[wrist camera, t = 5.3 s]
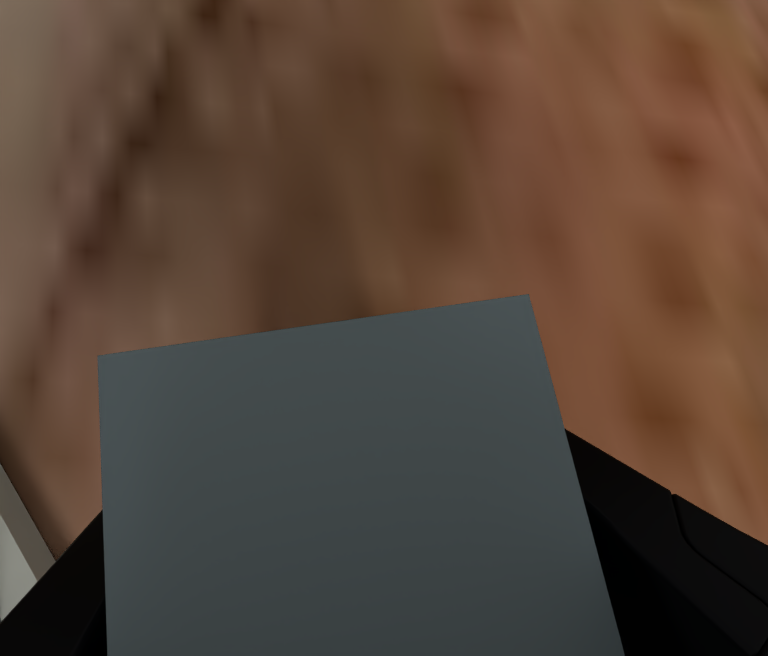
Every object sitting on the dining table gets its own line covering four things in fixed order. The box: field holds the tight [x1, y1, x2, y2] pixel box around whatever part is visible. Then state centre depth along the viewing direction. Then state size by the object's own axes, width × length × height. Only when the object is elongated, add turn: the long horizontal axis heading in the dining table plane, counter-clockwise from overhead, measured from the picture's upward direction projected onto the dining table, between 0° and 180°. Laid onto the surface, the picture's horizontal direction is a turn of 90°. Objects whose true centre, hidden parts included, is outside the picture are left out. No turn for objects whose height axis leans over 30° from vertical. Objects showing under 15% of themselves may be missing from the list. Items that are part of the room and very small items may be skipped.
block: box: [98, 294, 625, 656], centre depth 10 cm, size 5×5×10 cm
